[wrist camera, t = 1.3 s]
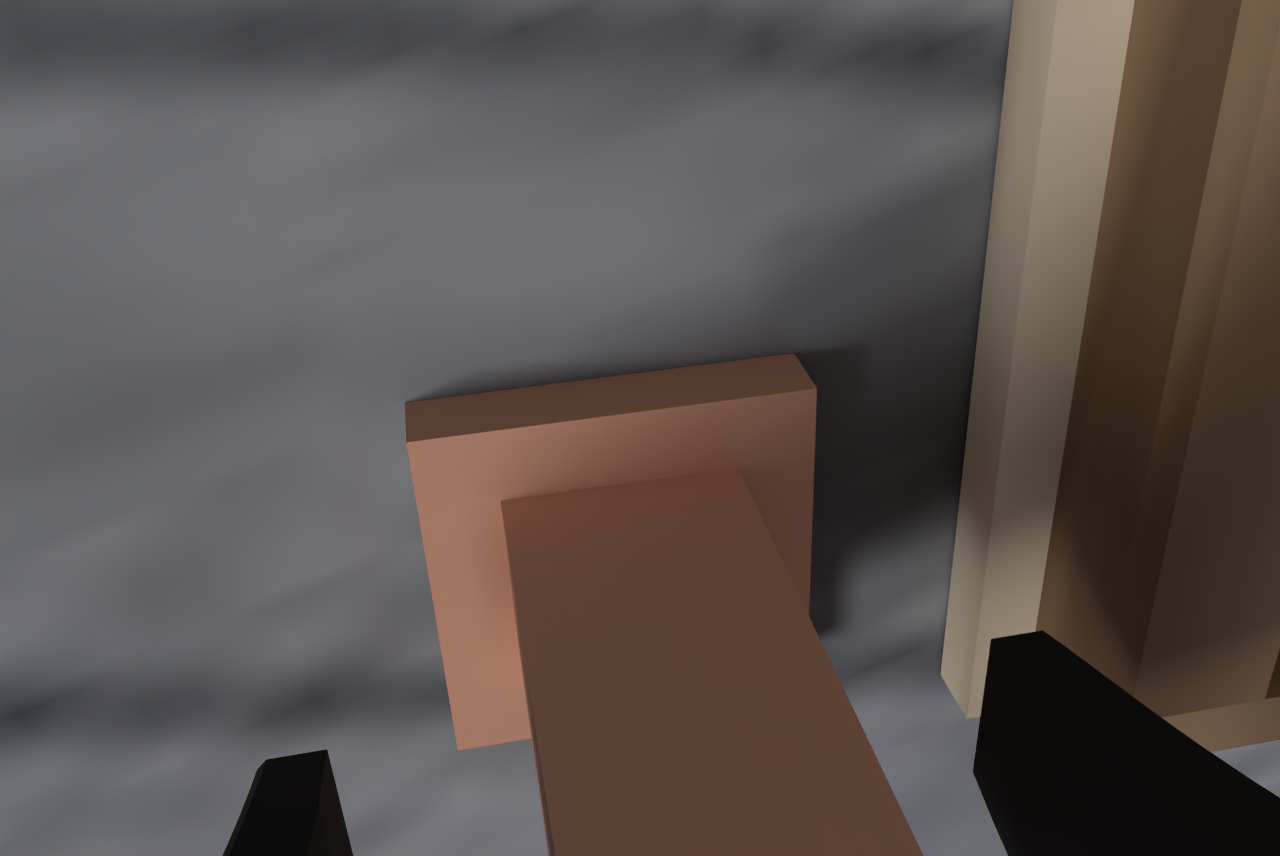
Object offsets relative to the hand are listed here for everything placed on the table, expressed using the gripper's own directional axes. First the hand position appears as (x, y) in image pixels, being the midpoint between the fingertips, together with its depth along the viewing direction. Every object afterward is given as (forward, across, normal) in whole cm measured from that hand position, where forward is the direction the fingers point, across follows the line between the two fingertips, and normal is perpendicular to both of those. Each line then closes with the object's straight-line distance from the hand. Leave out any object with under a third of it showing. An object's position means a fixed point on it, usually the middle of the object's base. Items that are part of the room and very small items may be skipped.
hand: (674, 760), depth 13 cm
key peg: (+4, 0, 0) cm, 4 cm away
